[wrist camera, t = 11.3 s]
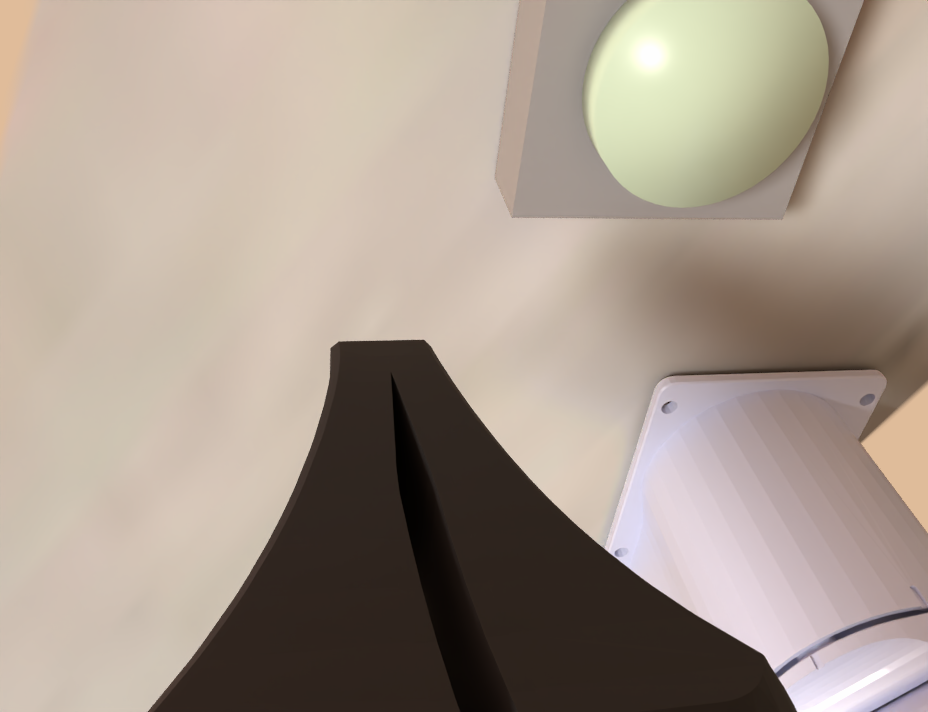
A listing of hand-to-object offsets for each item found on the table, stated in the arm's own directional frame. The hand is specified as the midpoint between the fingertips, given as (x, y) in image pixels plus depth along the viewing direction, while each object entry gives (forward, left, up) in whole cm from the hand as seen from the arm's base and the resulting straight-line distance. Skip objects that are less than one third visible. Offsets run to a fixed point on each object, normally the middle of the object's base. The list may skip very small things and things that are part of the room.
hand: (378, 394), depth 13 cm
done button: (+2, -8, -9) cm, 12 cm away
